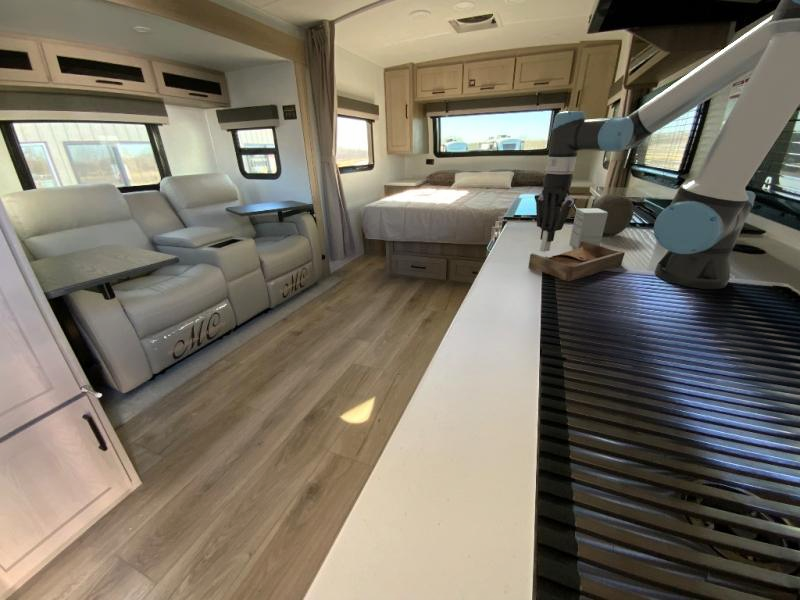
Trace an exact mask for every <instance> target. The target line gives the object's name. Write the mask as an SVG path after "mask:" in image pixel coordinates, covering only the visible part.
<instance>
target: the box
mask: <svg viewBox="0 0 800 600" xmlns="http://www.w3.org/2000/svg"><path fill="white" fill-rule="evenodd" d="M581 247H583V249H584V250H586V251H587V252H589V253H590V254H591V255H593V256H594V257H596V259H593V260H589V261H586V262H582V263H579V264H575V265H572V266H570V265H567V264H564V263H561V262H558V261H555V260H552V259H549V258H550V257H546V256H543V255H539V254H537V253H534V252H533V253H530V255H529V260H528V261H529V262H528V266H530V267H529V268H531V267H532V269H533V268H535V269H534V270H536V269H538V270H537V271H539V270H540V271H539V272H541V271H542V272H541V273H544V274H548V275H549V274H550V276H552V277H555V278H557V277H558V279H560V280H563V281H566V282H569V283H570V282H572V280H573V281H575V279H576V280H577V279H578V278H579V279H582V278H585V277H588V276H591V275H594V273H595V274H598V273H600V272H603V271H607V270H610V269H614V268H616V267H619V266H622V265H623V264H622V263H623V260H624V257H625V253H626V252H625V251H622V250H618V249H614V248H611V247H606V246H603V245H600V246H599V245H595V244H591V243H587V242H584V241H581V242H580V246H579V248H581ZM587 275H588V276H587ZM584 276H585V277H584ZM581 277H582V278H581ZM579 279H578V280H579Z"/></svg>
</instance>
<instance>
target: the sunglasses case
mask: <svg viewBox="0 0 800 600" xmlns="http://www.w3.org/2000/svg"><path fill="white" fill-rule="evenodd" d="M548 258H549V259H552V260H555V261H558V262H561V263H564V264H567V265H570V266H572V265H575V264H579V263H582V262H586V261H589V260H593V259H596V257H594V256H593V255H591V254H590V253H589V252H587V251H586V250H584V249H583V247H581V248H579V249H571V250H569V251H565V252H563V253H560V254H556V255H552V256H549V257H548Z"/></svg>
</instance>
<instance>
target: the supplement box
mask: <svg viewBox="0 0 800 600" xmlns="http://www.w3.org/2000/svg"><path fill="white" fill-rule="evenodd" d="M575 209H576V210H575V215H574V220H573V224H572V225H573V226H572V229H571V233H570V238H569V239H570V240H569V245H570V246H571V247H573V248H574V250H576V249H579V246H580V242H581V241H584V242H587V243H591V244H595V245H599V246H601V242H602V239H603V231H604V227H605V223H606V219H607V215H608V213H607V212H606V211H603V210H601V209H598V208H592V207H591V208H575Z"/></svg>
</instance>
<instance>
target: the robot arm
mask: <svg viewBox="0 0 800 600" xmlns="http://www.w3.org/2000/svg"><path fill="white" fill-rule="evenodd" d="M749 75H750V77H749V79H748V80H747V82H746V84H745V85H744V88H743V89H742V92H741V94H740V95H739V97H738V98H737V100H736V102H735V104H734V106H733V108H732V109H731V111H730V112H729V114H728V116H727V119H726V120H725V122H724V124H723V125H722V127H721V129H720V131H719V133H718V134H717V136H716V138H715V140H714V141H713V143H712V145H711V147H710V149H709V151H708V152H707V155H706V156H705V157H704V160H703V161H702V164H700V167H699V168H698V171H697V172H696V174H695V176H694V177H693V178H692V179H690V180H688V181H686V182H684V183H683V182H682V184H681V185H680V186H679V188H678V190H677V192H676V193H675V196H674V197H673V199H672V201H671V203H670V204H669V205H668V206H666V207H665V208H664V209H663V210H662V211H661V212H660V213H659V214H658V215H657V217H656V219H655V220H654V224H653V235H654V237H655V240H656V242H657V243H658V244H659V245H660V247H662V248H663V249H665V250H667V251H666V252H665V254H664V256H663V257H662V258H660V260H659V262H658V263H657V264H656V266H655V270H654V274H655V275H656V276H657V277H659V279H661V280H663V281H665V282H666V281H667V282H669V283H673V284H675V285H678V286H679V285H680V286H683V287H689V288H693V289H700V290H719V289H723V288H726V287H727V285H728V283H729V281H730V279H731V254H732V252H733V250H734V247H735V245H736V244H737V240H738V238H739V236H740V234H741V231H742V230H743V227H744V225H745V223H746V221H747V218H748V215H749V213H750V212H751V209H752V208H754V204H755V199H756V193H755V192H753V191H751V190H746V187H747V185H748V184H749V182H750V181H751V180H752V178H753V176H754V175H755V173H756V171H757V170H758V168H759V167H760V166H761V165H762V162H763V161H764V159H765V157H767V155H768V153H769V151H770V150H771V149H772V147H773V146H774V144H775V142H776V141H777V139H778V138H779V137H780V135H781V134H782V132H783V131H784V129H785V127H786V126H787V124H788V122H789V120H791V118H792V117H793V115H794V113H795V112H796V110H797V109H798V107H799V106H800V0H780V2H779V3H778V5H777V6H776V9H775V11H774V13H773V14H772V15H771V16H769V17H768V18H766V19H765V20H763V21H761V23H759V24H758V25H756V26H755V27H753V28H752V29H750V30H749V31H747V32H746V33H745V34H743V35H742V36H741V37H739V38H737V39H736V40H735V41H734V42H732V43H731V44H729V45H728V46H726V47H724V49H722V50H721V51H719V52H718V53H716V54H715V55H713V56H712V57H710V58H709V59H708V60H706V61H705V62H703V63H702V64H701V65H699V66H698V67H696V68H695V69H693V70H691V71H690V72H689V73H688V74H686V75H685V76H683V77H682V78H680V79H679V80H677V81H676V82H674V83H673V84H672V85H671V86H669V87H667V88H666V89H664V90H663V91H662V92H661V93H659V94H657V95H656V96H655V97H653V98H651V100H649V101H647V102H646V103H644V104H643V105H642V106H640V107H639V108H637V110H634V111H633V112H631V113H630V114H629V115H627V116H626V117H623V116H614V117H605V118H604V117H603V118H591V119H589V118H586V113H585V111H583V110H580V111H579V110H578V111H577V110H576V111H575V110H573V111H560V112H558V113H556V114H555V116H554V119H553V120H554V121H553V124H552V128H551V131H550V132H551V136H550V143H549V148H548V149H549V150H548V155H547V160H546V167H545V172H546V173H544V178H543V184H542V185H543V189H542V190H541V192H540V193H539V194H535V195H534V201H535V203H536V204H535V209H536V214H535V215H536V226H537V227H538V228H540V229H541V232H540V240H541V243H540V249H539V251H540V252H542V253H544V252H548V251H550V250H551V249H550V248H551V245H552V242H553V241H554V239H555V233H556V232H557V231H561V230H562V229H563V227H564V224H565V223H566V221H567V218H568V216H569V214H570V211H571V209H572V207H573V206H574V205H576V201H577V200H576V199H575V198H574V199H572V197H571V196H570V188H571V186H572V181H573V177H574V175H573V173H572V172H574V171H575V168H576V161H577V156H578V152H579V151H594V152H595V151H596V152H607V153H608V152H619V151H623V150H630V149H633V148H637V147H639V146H640V145H642V144H643V143H644V142H645V141H646V140H647V139H648V137H650V136H652V135H653V134H654V133H656V132H658V131H660V129H662V128H664V127H665V126H667V125H669V124H670V123H672V122H674V121H675V120H677V119H678V118H680V117H682V116H683V115H685V114H687V113H688V112H690V111H692V110H693V109H695V108H697V107H698V106H700V105H702V104H703V103H704V102H706V101H708V100H710V99H711V98H712V97H713V98H714V97H715V96H716V95H718V94H719V93H721V92H723V91H724V90H726V89H728V88H729V87H731V86H733V85H734V84H736V83H738V82H739V81H740V80H742V79H744V78H746V77H747V76H749Z"/></svg>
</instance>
